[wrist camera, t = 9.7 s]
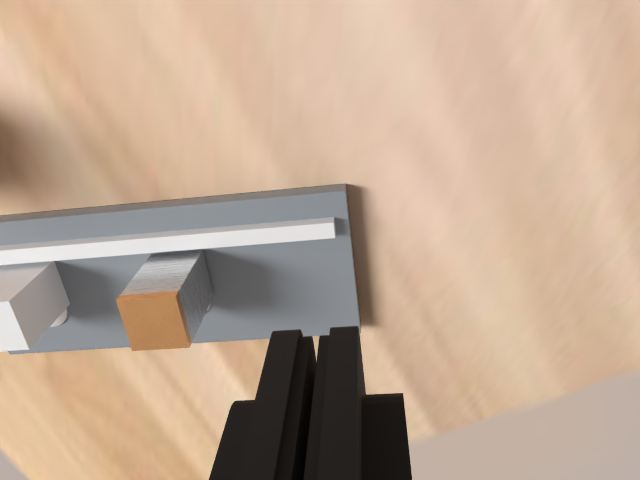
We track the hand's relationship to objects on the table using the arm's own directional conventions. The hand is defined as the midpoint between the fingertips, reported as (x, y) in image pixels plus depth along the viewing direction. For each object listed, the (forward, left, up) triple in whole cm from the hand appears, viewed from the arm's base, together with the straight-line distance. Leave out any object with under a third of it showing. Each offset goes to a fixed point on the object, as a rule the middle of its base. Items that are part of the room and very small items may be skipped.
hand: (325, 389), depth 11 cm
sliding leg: (+12, -14, -27) cm, 33 cm away
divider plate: (+12, -16, -29) cm, 35 cm away
